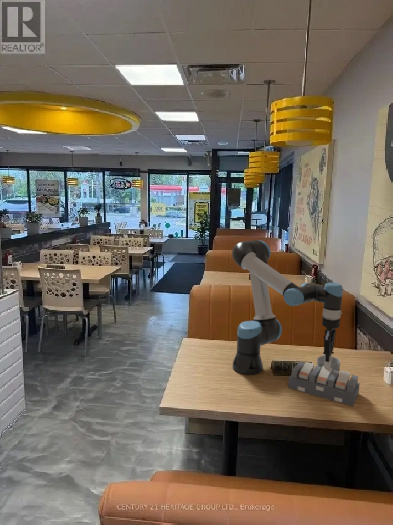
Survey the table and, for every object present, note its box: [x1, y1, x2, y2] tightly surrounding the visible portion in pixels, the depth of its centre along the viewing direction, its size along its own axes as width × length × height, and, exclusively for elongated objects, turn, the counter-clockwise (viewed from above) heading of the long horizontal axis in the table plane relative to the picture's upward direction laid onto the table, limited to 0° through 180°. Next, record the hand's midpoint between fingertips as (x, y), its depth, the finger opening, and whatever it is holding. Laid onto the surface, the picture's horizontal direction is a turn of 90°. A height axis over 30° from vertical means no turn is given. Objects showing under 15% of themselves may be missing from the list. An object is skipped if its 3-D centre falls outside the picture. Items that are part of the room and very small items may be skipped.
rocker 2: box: [317, 366, 332, 385], centre depth 171 cm, size 4×10×2 cm, turn 148°
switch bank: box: [287, 361, 360, 407], centre depth 172 cm, size 28×13×8 cm, turn 58°
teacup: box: [316, 354, 341, 375], centre depth 190 cm, size 14×11×8 cm
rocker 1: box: [299, 361, 315, 380], centre depth 175 cm, size 4×10×2 cm, turn 148°
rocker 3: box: [335, 370, 351, 390], centre depth 167 cm, size 4×10×2 cm, turn 148°
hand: (327, 367), depth 174 cm, fingers closed
